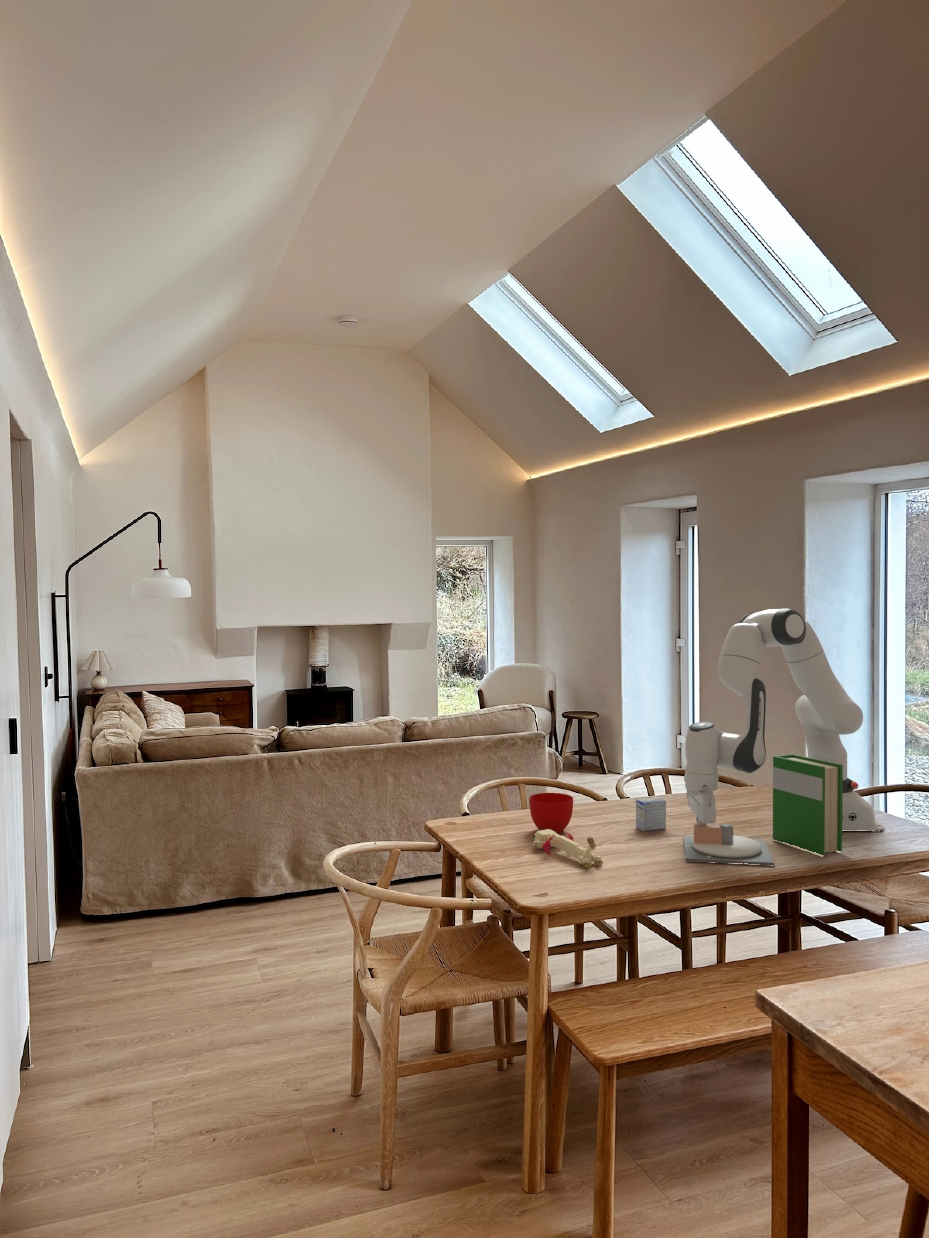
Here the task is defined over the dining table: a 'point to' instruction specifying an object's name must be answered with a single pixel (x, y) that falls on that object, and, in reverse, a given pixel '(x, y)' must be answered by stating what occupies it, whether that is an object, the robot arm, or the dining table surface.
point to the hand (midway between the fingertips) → (701, 831)
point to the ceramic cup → (551, 811)
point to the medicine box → (650, 814)
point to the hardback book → (807, 803)
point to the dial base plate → (696, 856)
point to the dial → (723, 842)
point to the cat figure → (567, 847)
